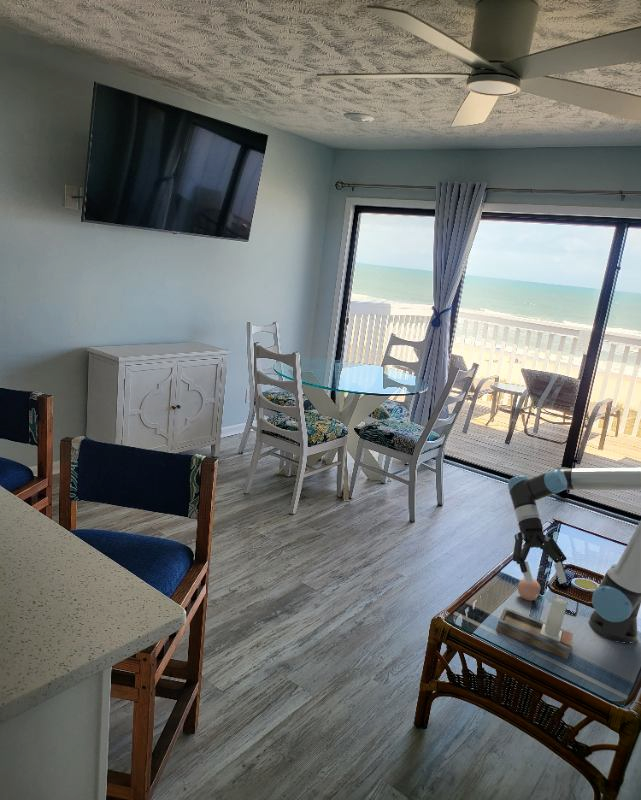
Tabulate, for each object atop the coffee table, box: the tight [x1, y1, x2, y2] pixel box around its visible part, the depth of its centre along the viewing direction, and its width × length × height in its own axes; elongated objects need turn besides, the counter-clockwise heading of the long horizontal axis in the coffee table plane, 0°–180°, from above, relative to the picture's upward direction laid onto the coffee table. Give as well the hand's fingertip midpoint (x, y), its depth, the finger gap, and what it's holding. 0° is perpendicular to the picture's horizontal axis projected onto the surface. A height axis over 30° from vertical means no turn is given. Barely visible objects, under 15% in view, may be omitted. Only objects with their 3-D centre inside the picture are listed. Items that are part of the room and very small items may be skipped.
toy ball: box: [517, 577, 542, 601], centre depth 222 cm, size 8×8×8 cm
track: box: [496, 607, 574, 660], centre depth 197 cm, size 22×11×4 cm, turn 63°
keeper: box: [540, 596, 568, 643], centre depth 193 cm, size 6×7×12 cm
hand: (546, 582), depth 199 cm, fingers open, 13 cm apart
